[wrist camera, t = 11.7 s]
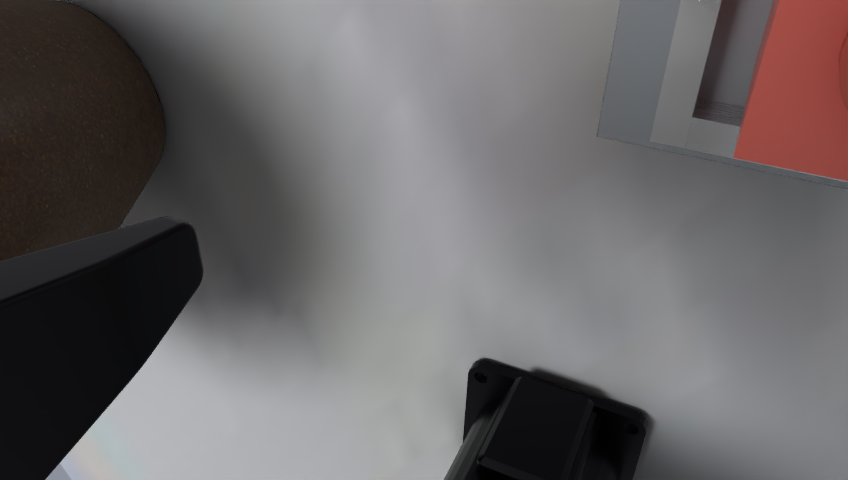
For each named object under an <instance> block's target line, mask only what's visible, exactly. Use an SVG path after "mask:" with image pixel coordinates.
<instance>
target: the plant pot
mask: <svg viewBox="0 0 848 480" xmlns="http://www.w3.org/2000/svg"><path fill="white" fill-rule="evenodd" d="M164 141H165V126H164V120H163V113H162V109H161V106H160V103H159V100H158V97H157V94H156V91H155V89H154V87H153V85H152V83H151V81H150V79H149V77H148V75H147V73H146V71H145V70H144V68H143V66H142V64H141V63H140V61H139V60H138V59H137V57H136V56H135V54H134V53H133V52H132V51H131V49H130V48H129V47H128V46H127V44H126V43H125V42H124V41H123V40H122V39H121V38H120V36H119V35H118V34H117V33H116V32H114V31H113V30H112V29H111V28H110V27H109V26H108V25H107V24H106V23H104V22H103V21H101V20H100V19H99V18H97V17H96V16H94V15H93V14H91V13H90V12H88V11H86V10H84V9H82V8H81V7H79V6H76V5H73V4H70V3H66V2H62V1H56V0H0V261H4V260H7V259H11V258H15V257H18V256H22V255H25V254H29V253H33V252H36V251H40V250H44V249H47V248H51V247H55V246H58V245H62V244H66V243H69V242H73V241H77V240H80V239H84V238H88V237H91V236H95V235H98V234H102V233H106V232H109V231H113V230H117V229H118V228H119V226H120V225H121V223H122V222H123V220H124V219H125V217H126V216H127V214H128V213H129V211H130V210H131V208H132V206H133V205H134V203H135V201H136V200H137V198H138V196H139V195H140V193H141V192H142V190H143V188H144V187H145V185H146V183H147V182H148V180H149V178H150V176H151V175H152V173H153V171H154V169H155V168H156V166H157V164H158V163H159V161H160V159H161V156H162V153H163V150H164Z"/></svg>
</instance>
